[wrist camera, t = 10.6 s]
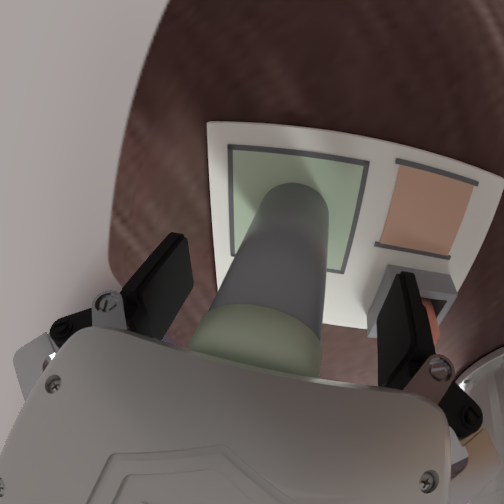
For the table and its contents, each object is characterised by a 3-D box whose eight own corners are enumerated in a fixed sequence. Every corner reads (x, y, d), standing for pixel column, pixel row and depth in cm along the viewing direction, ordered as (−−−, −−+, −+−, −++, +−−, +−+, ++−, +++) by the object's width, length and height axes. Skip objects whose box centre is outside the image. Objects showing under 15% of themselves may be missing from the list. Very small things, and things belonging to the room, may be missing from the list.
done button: (440, 298, 15) (448, 326, 13) (421, 329, 17) (425, 356, 15) (399, 292, 15) (404, 321, 14) (382, 325, 17) (385, 353, 15)
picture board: (502, 177, 11) (522, 194, 9) (428, 331, 19) (433, 354, 17) (210, 121, 14) (191, 130, 12) (221, 299, 23) (210, 322, 21)
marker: (335, 187, 14) (331, 368, 6) (324, 250, 17) (303, 421, 9) (259, 176, 15) (167, 333, 7) (257, 239, 18) (192, 396, 9)
